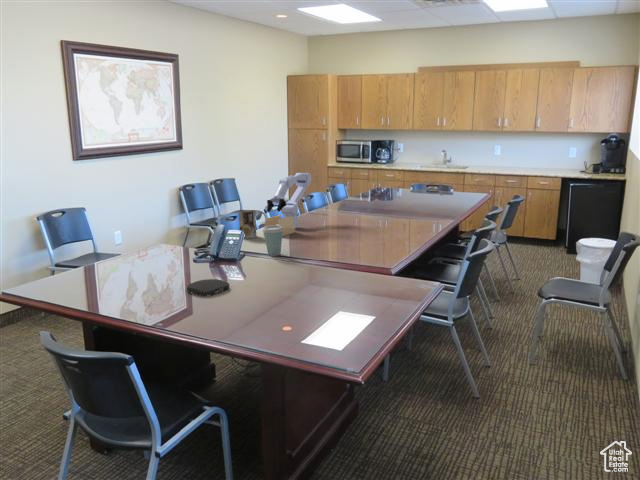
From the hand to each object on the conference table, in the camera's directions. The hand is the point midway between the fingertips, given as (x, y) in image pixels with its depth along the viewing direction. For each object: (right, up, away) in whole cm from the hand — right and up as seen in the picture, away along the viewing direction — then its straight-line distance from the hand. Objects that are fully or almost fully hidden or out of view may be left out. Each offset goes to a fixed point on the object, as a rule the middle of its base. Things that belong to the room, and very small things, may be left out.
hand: (273, 211), depth 324 cm
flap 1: (-1, -9, +7) cm, 12 cm away
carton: (+4, -14, +5) cm, 15 cm away
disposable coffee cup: (+4, -26, -46) cm, 53 cm away
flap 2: (+9, -10, +1) cm, 14 cm away
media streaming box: (-18, -39, -102) cm, 111 cm away
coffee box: (-15, -16, -3) cm, 22 cm away
